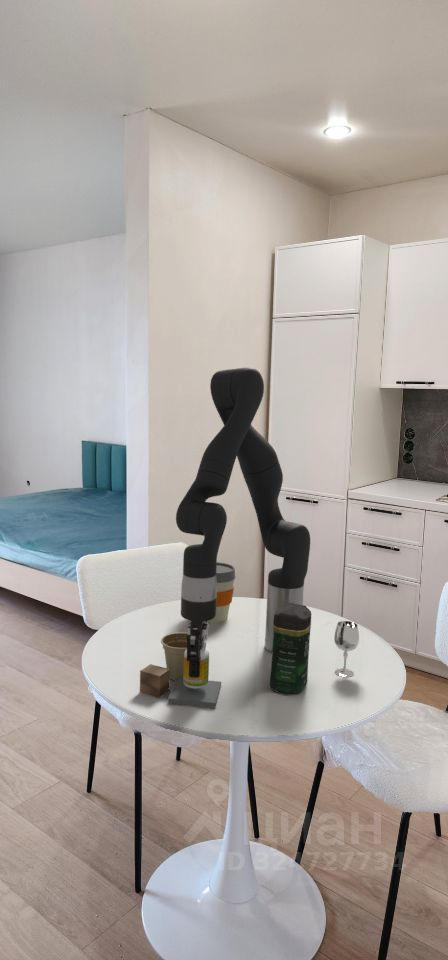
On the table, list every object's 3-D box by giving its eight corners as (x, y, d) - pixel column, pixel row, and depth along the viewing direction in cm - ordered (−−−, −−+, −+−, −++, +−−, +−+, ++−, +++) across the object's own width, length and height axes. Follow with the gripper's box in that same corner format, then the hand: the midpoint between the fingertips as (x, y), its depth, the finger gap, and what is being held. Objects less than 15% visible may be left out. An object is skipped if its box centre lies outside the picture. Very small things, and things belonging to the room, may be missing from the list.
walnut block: (169, 690, 139) (169, 669, 138) (159, 698, 135) (159, 676, 134) (150, 685, 141) (150, 664, 140) (139, 692, 137) (140, 670, 137)
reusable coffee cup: (240, 614, 189) (242, 565, 187) (222, 628, 177) (225, 575, 175) (202, 607, 194) (204, 559, 192) (183, 620, 182) (184, 569, 180)
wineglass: (358, 670, 153) (361, 622, 151) (354, 679, 147) (358, 630, 146) (334, 666, 155) (337, 618, 153) (330, 675, 149) (333, 626, 148)
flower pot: (169, 688, 140) (170, 650, 139) (153, 671, 148) (154, 635, 147) (207, 680, 144) (209, 644, 143) (190, 664, 152) (191, 630, 151)
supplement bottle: (207, 689, 134) (209, 646, 133) (182, 688, 134) (183, 644, 133) (208, 678, 139) (210, 636, 138) (184, 677, 139) (185, 635, 138)
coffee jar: (300, 699, 137) (305, 616, 134) (265, 692, 139) (269, 611, 137) (311, 681, 146) (315, 603, 143) (277, 675, 148) (281, 598, 146)
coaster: (221, 686, 141) (221, 681, 141) (215, 708, 131) (215, 702, 131) (177, 682, 142) (177, 677, 142) (168, 703, 133) (168, 698, 132)
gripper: (211, 607, 127) (209, 687, 129) (220, 585, 141) (218, 658, 143) (174, 604, 127) (172, 684, 130) (187, 583, 142) (185, 655, 144)
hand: (196, 670), depth 136 cm, fingers closed on supplement bottle, 5 cm apart
